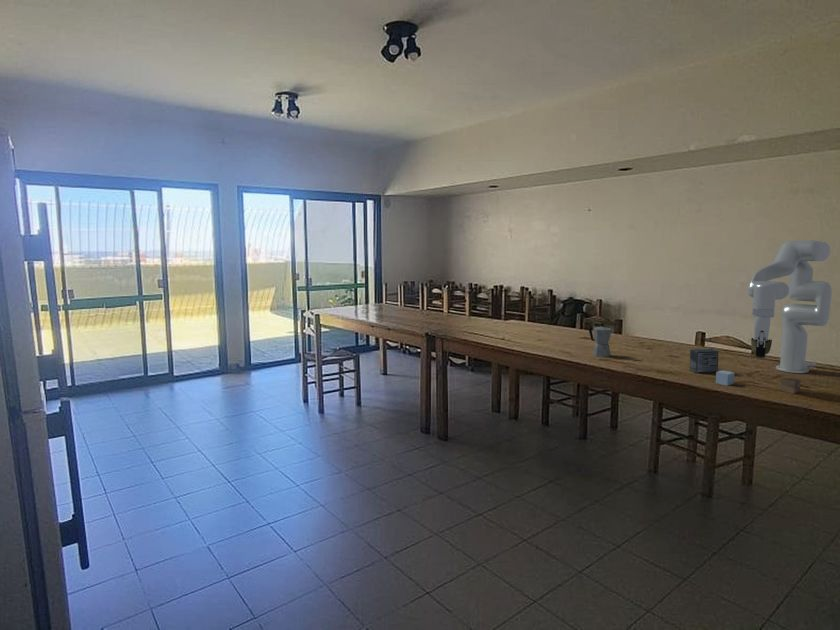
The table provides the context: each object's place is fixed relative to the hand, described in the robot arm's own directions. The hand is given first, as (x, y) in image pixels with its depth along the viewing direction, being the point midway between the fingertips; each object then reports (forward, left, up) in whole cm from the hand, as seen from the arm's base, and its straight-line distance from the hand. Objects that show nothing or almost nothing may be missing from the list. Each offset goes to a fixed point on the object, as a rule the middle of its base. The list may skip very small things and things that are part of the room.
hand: (760, 354), depth 213 cm
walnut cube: (-9, +6, -14) cm, 18 cm away
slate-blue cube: (+11, -6, -14) cm, 19 cm away
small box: (+10, -26, -14) cm, 31 cm away
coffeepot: (+47, -64, -14) cm, 81 cm away
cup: (0, 0, -2) cm, 2 cm away
